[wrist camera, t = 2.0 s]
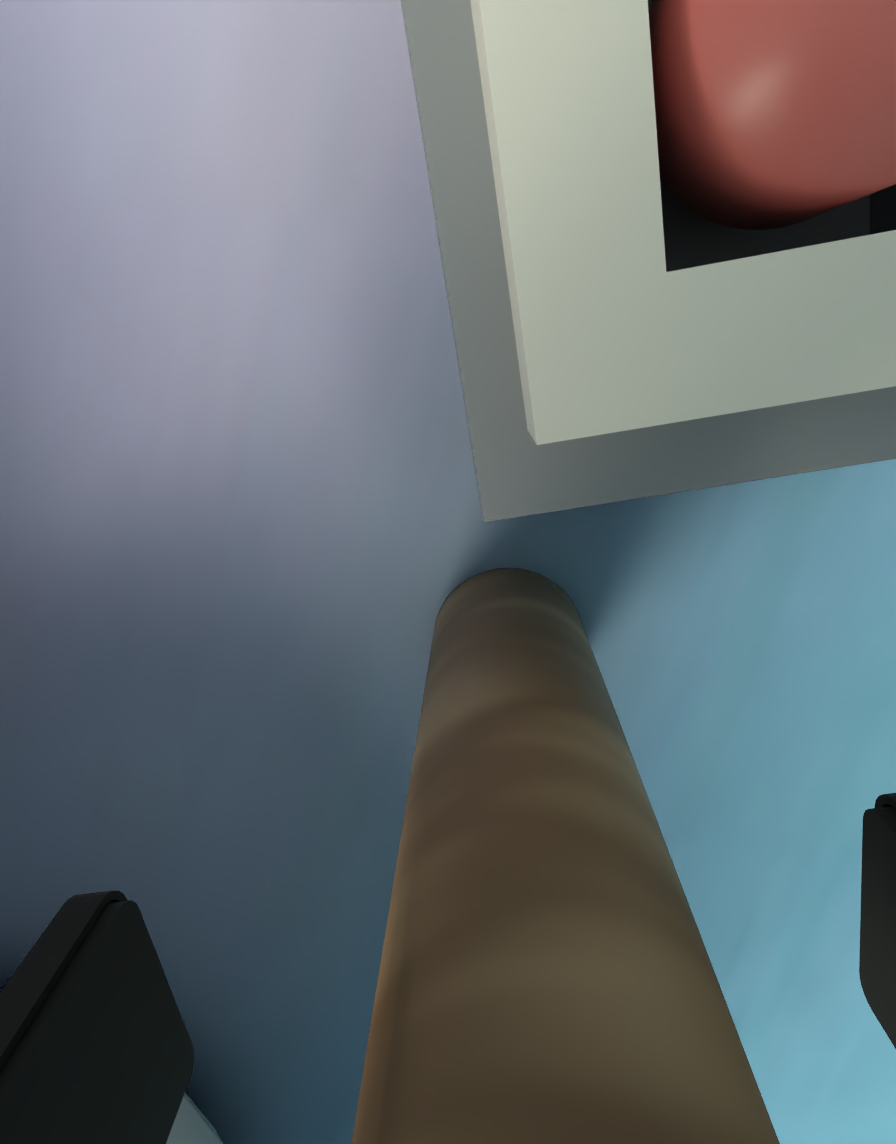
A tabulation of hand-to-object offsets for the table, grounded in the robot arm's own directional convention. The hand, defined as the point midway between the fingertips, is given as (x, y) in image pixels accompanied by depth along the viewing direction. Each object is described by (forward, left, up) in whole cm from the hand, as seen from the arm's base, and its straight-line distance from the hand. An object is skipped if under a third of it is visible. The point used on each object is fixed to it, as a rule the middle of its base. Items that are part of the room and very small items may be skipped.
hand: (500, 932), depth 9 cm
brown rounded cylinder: (0, 0, -10) cm, 10 cm away
